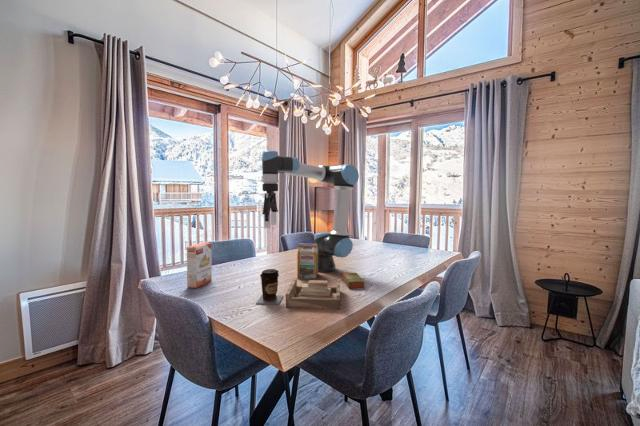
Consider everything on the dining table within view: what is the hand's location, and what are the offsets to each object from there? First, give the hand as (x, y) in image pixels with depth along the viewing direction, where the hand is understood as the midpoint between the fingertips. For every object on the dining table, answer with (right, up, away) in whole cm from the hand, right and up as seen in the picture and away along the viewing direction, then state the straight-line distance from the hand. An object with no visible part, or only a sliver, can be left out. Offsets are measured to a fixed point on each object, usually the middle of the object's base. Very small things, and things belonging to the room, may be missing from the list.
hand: (270, 226), depth 150 cm
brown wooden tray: (+22, -33, -10) cm, 41 cm away
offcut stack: (+22, -32, -3) cm, 39 cm away
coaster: (+2, -33, -12) cm, 35 cm away
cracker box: (-39, -31, +10) cm, 51 cm away
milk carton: (+17, -30, +25) cm, 43 cm away
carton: (+42, -32, +12) cm, 54 cm away
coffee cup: (+2, -32, -12) cm, 35 cm away
